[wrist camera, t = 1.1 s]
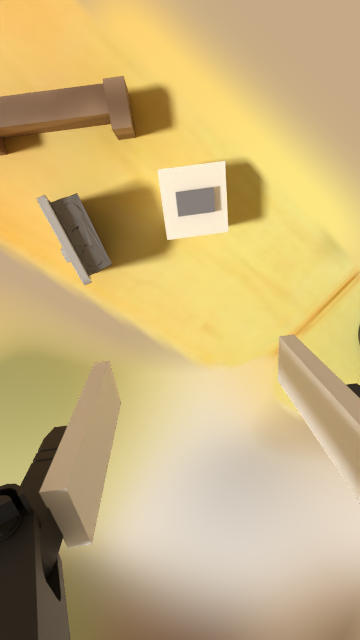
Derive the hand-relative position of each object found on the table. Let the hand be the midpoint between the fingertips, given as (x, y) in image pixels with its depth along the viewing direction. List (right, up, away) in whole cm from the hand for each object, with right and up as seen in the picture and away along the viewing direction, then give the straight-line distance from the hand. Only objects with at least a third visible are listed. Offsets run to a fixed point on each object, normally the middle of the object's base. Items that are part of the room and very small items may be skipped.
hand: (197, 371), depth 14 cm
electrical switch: (-13, +14, +21) cm, 29 cm away
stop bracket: (-15, +25, +16) cm, 33 cm away
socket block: (0, +18, +20) cm, 27 cm away
